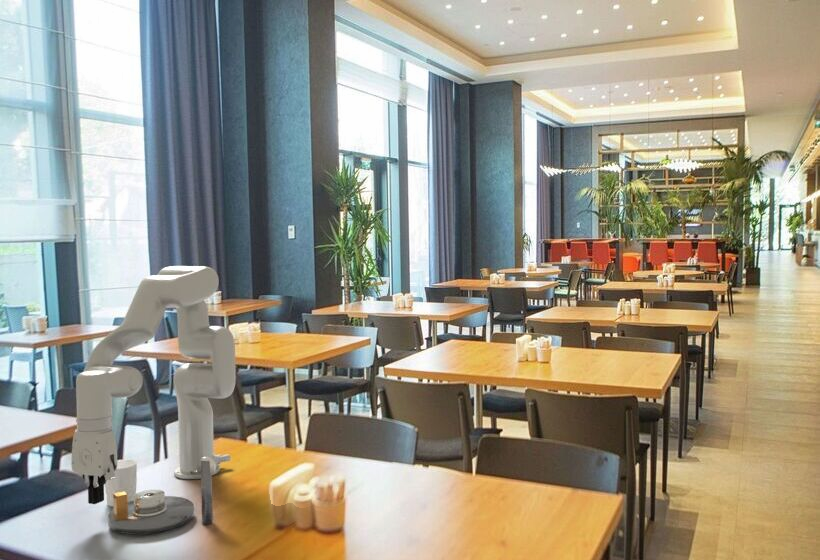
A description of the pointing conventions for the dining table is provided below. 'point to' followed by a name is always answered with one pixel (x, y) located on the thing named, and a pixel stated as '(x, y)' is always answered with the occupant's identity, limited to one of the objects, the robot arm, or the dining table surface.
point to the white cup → (122, 481)
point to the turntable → (130, 524)
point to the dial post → (206, 487)
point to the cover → (149, 503)
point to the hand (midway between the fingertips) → (96, 502)
